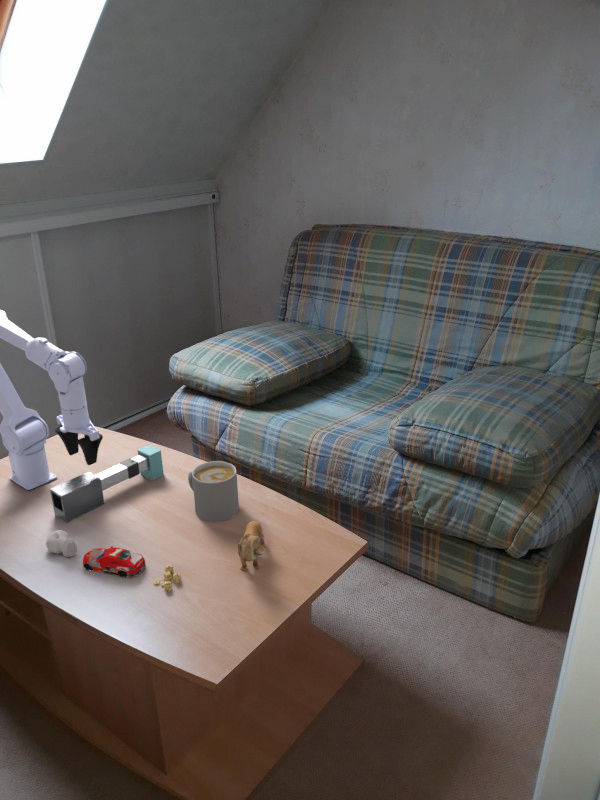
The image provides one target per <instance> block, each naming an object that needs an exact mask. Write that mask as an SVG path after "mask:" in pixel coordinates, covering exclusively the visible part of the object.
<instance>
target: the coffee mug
mask: <svg viewBox="0 0 600 800" xmlns="http://www.w3.org/2000/svg"><path fill="white" fill-rule="evenodd" d="M237 473H238V472H237V469H236V466H235V465H233V464H232V463H230V462H227V461H222V460H215V461H214V460H213V461H207V462H202V463H201V464H199V465H197V466H196V467H195V468H193V469H191V470H190V471H189V472H188V476H187V480H188V485H189V487H190V489H191V490H192V492H193V501H194V510H195V511H194V512H195V514H196V517H198V519H200V520H202V521H205V522H210V523H211V522H212V523H214V522H215V523H216V522H217V523H218V522H224V521H226V520H227V521H228V520H229V519H231V518H233V517H234V516H235V515H237V514H238V513H239V510H240V508H239V506H240V505H239V490H238V489H239V488H238V475H237Z"/></svg>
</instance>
